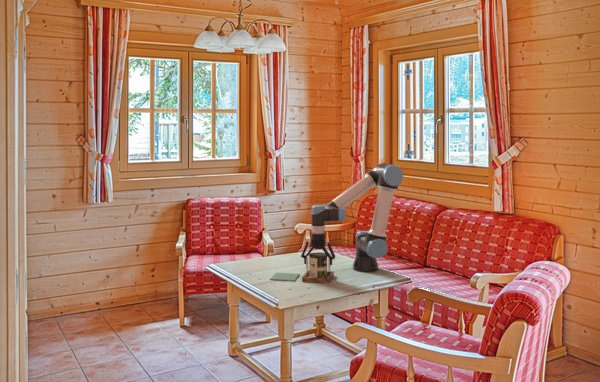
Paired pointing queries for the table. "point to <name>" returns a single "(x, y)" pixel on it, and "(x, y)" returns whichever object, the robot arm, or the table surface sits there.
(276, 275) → the mat
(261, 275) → the table surface
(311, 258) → the coffee can
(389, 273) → the table surface
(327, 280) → the tray
